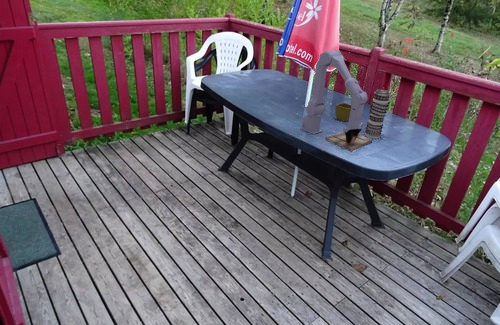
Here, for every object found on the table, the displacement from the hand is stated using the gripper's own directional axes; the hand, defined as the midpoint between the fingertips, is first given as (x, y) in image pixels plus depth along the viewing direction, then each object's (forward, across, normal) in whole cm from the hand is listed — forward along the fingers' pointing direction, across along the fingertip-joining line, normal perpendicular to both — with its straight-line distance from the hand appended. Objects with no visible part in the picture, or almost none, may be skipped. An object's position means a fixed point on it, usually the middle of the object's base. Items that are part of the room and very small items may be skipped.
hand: (350, 142), depth 181 cm
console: (+2, +5, +4) cm, 7 cm away
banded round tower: (+2, +24, +1) cm, 24 cm away
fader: (0, 0, 0) cm, 0 cm away
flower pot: (+2, +30, +25) cm, 39 cm away
